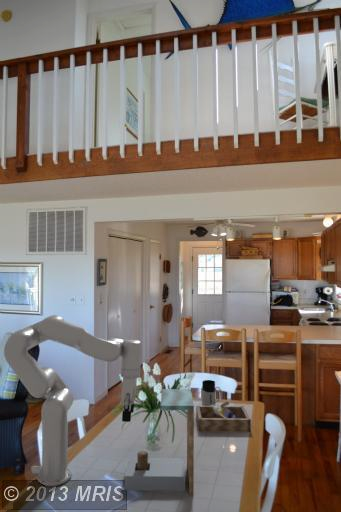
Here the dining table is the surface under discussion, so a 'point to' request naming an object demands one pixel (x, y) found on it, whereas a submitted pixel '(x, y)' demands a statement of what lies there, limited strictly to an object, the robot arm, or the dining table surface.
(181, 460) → the socket block
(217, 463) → the dining table surface
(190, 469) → the glass-topped wooden stand
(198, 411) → the display tray
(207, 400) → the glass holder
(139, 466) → the peg
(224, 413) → the fish sculpture
